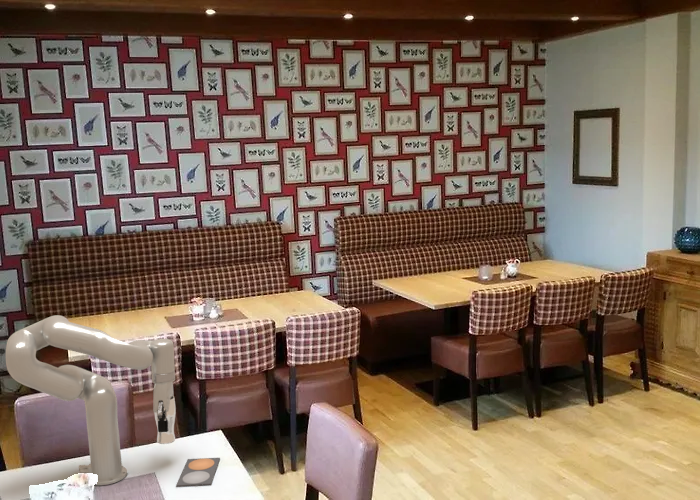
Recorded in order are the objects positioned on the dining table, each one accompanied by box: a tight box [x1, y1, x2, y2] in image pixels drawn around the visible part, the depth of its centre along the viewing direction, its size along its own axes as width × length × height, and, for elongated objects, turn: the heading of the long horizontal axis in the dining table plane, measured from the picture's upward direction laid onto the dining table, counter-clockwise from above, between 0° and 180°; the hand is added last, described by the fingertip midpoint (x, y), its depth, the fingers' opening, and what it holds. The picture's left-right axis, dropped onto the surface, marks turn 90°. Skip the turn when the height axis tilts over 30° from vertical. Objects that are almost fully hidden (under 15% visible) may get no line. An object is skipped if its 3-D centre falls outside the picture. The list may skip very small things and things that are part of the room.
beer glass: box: [153, 396, 177, 445], centre depth 240 cm, size 7×7×15 cm
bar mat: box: [175, 457, 221, 488], centre depth 235 cm, size 11×19×1 cm, turn 2°
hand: (165, 427), depth 240 cm, fingers closed on beer glass, 6 cm apart
